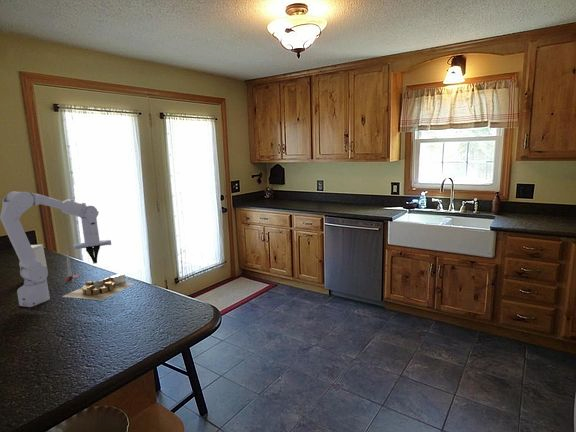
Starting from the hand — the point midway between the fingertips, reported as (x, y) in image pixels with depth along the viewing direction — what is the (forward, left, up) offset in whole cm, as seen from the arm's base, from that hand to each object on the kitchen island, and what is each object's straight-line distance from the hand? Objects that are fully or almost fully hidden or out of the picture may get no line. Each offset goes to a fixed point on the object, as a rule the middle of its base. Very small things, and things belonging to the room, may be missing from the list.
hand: (95, 262), depth 157 cm
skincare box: (+2, +39, -10) cm, 41 cm away
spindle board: (-8, -9, -10) cm, 15 cm away
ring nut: (-6, -9, -8) cm, 13 cm away
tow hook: (+4, +15, -10) cm, 19 cm away
